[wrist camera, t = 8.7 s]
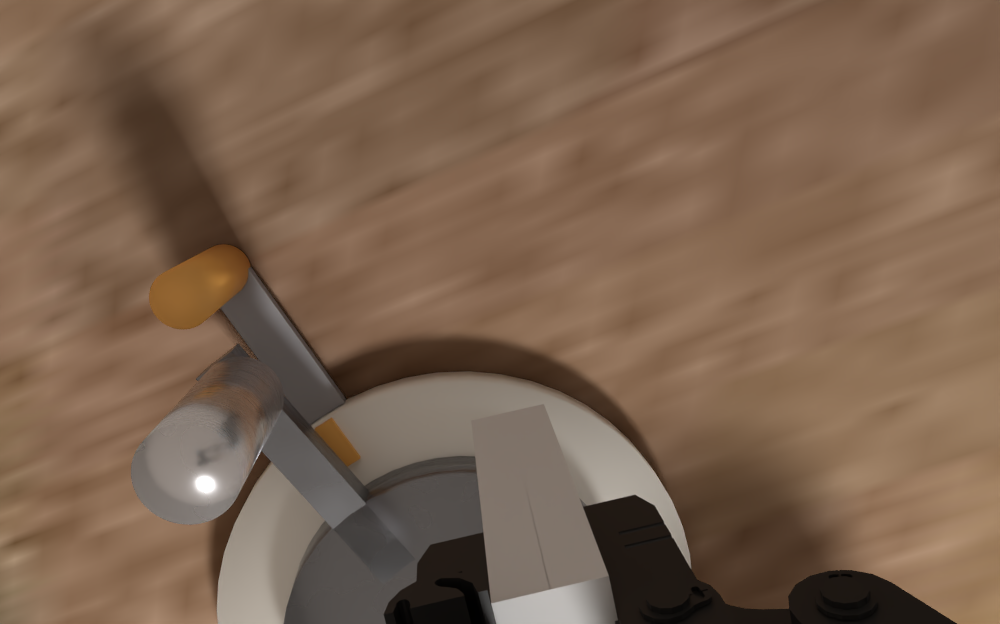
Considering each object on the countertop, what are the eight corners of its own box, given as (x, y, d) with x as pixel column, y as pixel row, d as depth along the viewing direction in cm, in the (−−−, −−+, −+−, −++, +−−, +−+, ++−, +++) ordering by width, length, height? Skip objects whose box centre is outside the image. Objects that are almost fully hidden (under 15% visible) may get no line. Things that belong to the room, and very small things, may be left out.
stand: (609, 156, 33) (649, 161, 27) (713, 726, 39) (764, 830, 33) (111, 269, 32) (41, 298, 26) (295, 832, 38) (272, 958, 32)
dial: (689, 630, 36) (773, 791, 27) (433, 815, 37) (435, 1030, 28) (370, 238, 31) (348, 279, 22) (85, 461, 32) (-44, 585, 23)
